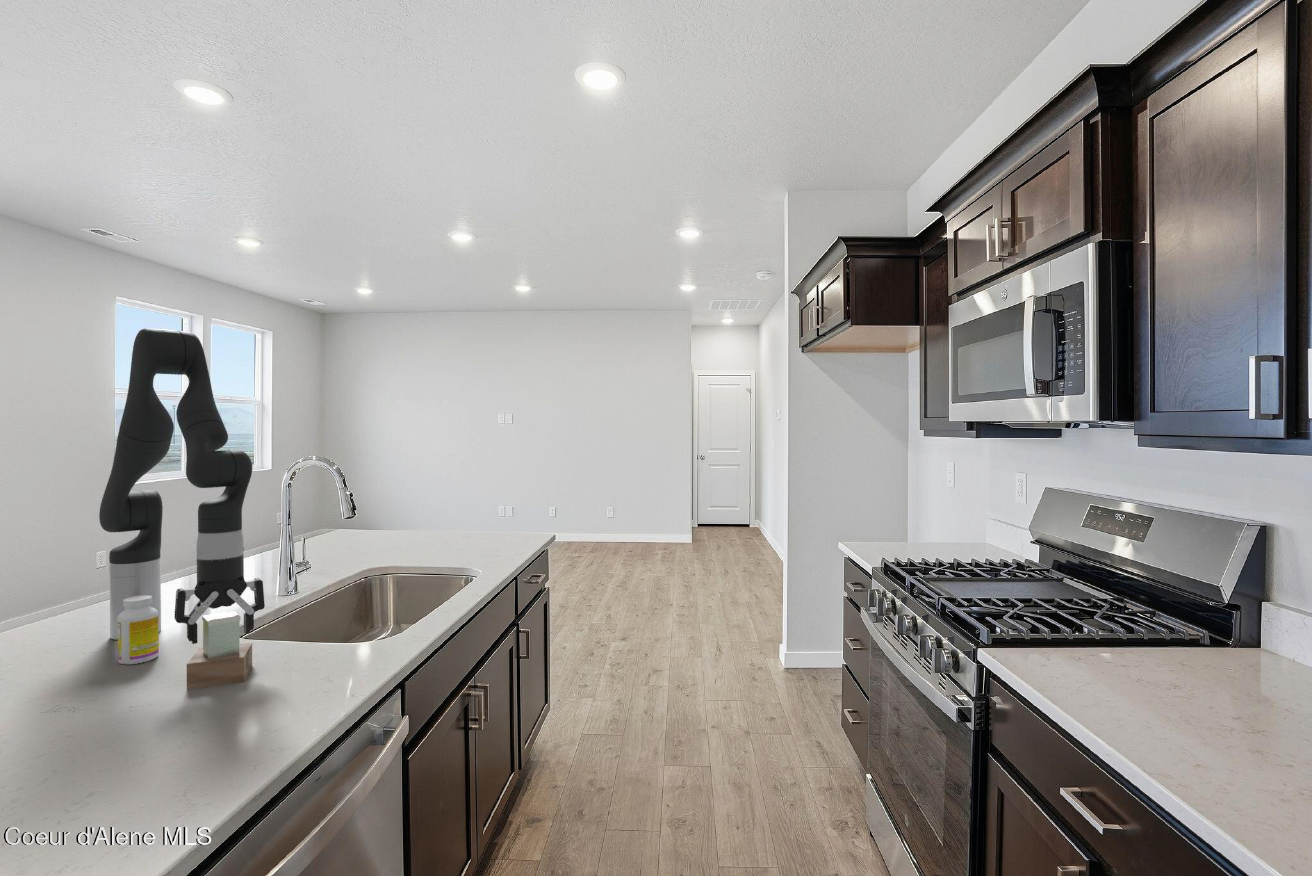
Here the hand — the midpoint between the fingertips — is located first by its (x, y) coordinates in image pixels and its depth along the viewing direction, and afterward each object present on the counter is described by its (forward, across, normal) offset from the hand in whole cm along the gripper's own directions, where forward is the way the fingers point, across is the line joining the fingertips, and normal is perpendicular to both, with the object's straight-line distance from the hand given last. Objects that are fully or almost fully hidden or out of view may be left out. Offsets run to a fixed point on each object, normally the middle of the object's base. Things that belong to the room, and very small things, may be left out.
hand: (221, 637), depth 125 cm
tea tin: (+3, 0, 0) cm, 3 cm away
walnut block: (+8, 0, 0) cm, 8 cm away
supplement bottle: (+8, +11, -22) cm, 26 cm away
